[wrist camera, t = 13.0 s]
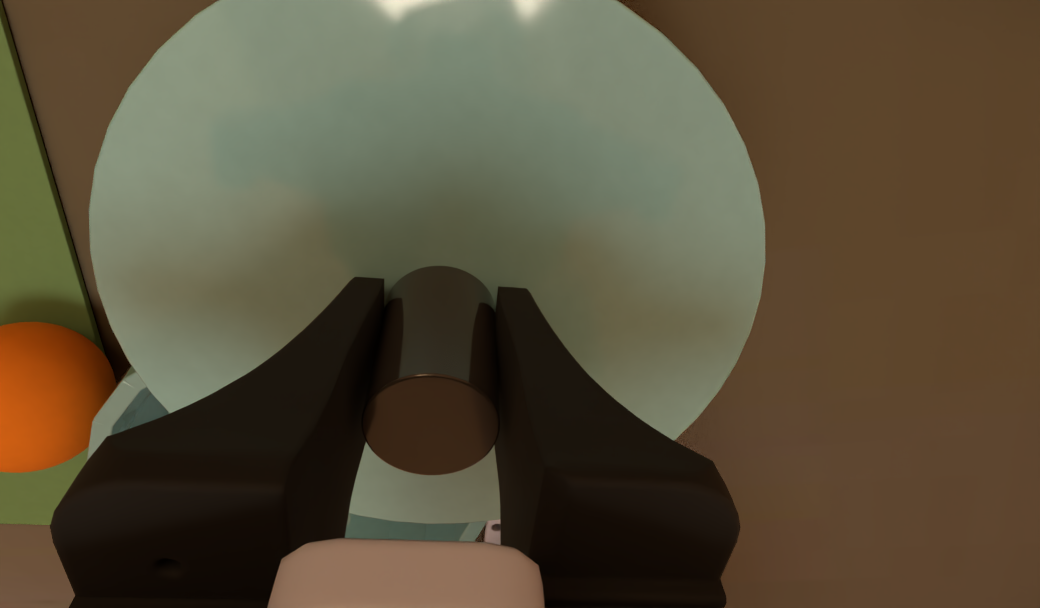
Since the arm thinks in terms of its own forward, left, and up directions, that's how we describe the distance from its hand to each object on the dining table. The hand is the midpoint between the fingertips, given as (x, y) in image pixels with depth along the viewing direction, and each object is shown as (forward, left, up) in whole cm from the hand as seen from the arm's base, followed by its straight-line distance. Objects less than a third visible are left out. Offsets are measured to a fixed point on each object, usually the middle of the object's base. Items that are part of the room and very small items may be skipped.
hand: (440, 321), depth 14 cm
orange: (-8, +14, -6) cm, 17 cm away
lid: (0, 0, -1) cm, 1 cm away
